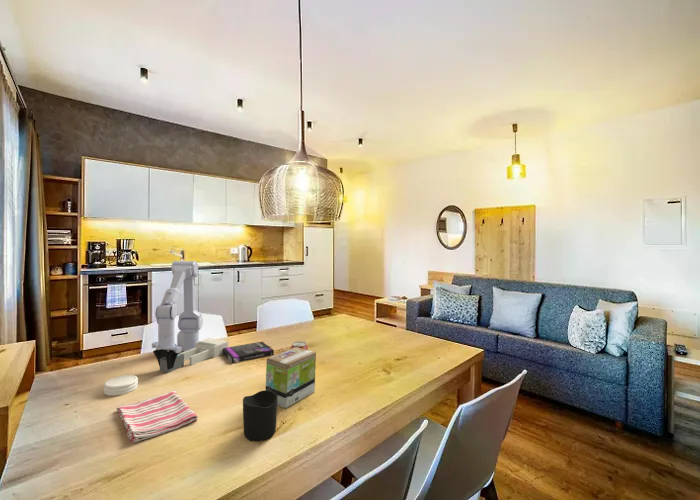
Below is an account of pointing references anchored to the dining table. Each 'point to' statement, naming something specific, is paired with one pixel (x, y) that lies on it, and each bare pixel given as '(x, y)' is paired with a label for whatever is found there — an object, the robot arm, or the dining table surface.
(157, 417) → the dish towel
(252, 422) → the pen holder
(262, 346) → the box
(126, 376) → the coaster
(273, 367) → the tea box
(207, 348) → the stand
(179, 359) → the grey tapered block
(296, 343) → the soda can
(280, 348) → the dining table surface
